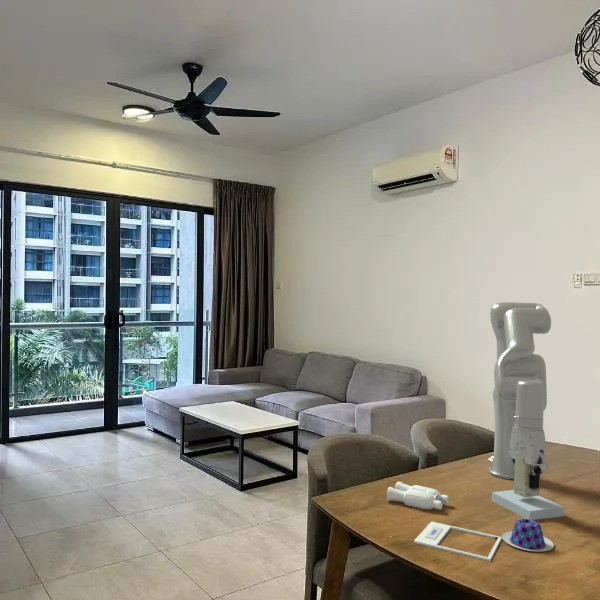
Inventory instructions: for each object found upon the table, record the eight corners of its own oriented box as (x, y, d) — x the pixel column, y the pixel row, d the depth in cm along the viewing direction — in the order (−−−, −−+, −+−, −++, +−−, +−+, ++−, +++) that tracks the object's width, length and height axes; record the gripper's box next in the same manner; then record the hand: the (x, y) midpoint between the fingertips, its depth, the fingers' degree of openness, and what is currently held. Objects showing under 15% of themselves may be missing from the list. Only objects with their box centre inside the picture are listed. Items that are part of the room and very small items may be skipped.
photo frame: (431, 520, 151) (501, 536, 142) (431, 524, 151) (501, 540, 142) (413, 539, 138) (490, 558, 129) (413, 544, 138) (490, 563, 129)
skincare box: (525, 498, 162) (526, 455, 162) (513, 493, 165) (514, 451, 165) (540, 495, 165) (541, 453, 165) (528, 490, 168) (529, 449, 168)
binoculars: (399, 493, 175) (400, 478, 175) (450, 504, 166) (450, 489, 166) (385, 503, 166) (385, 487, 166) (438, 515, 158) (438, 498, 158)
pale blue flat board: (491, 502, 170) (492, 492, 170) (524, 498, 174) (524, 488, 174) (529, 522, 155) (529, 511, 155) (564, 517, 159) (564, 507, 159)
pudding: (511, 529, 149) (511, 509, 149) (559, 543, 141) (560, 522, 141) (494, 544, 140) (495, 522, 140) (545, 559, 132) (546, 536, 132)
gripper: (498, 417, 171) (496, 477, 172) (541, 430, 156) (539, 496, 156) (518, 416, 174) (516, 475, 174) (562, 428, 158) (560, 493, 158)
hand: (527, 484), depth 165 cm, fingers closed on skincare box, 4 cm apart
